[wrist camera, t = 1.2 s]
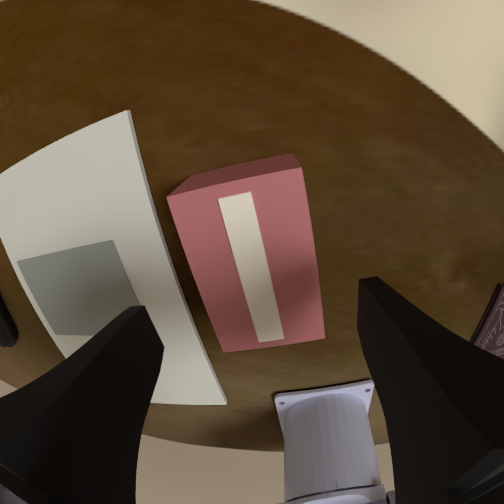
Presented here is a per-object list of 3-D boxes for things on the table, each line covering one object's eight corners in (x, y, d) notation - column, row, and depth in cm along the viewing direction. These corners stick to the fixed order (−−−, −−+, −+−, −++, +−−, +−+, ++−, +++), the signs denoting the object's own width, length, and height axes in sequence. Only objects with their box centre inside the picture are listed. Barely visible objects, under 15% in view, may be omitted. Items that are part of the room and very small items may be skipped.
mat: (227, 400, 22) (226, 405, 21) (95, 393, 24) (94, 396, 23) (130, 110, 12) (125, 110, 12) (-13, 183, 14) (-18, 186, 13)
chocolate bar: (550, 285, 15) (473, 407, 23) (545, 279, 16) (470, 402, 24) (502, 287, 15) (417, 423, 23) (496, 280, 16) (415, 416, 24)
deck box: (314, 290, 17) (325, 339, 13) (231, 304, 17) (223, 353, 14) (292, 152, 13) (301, 167, 10) (191, 174, 14) (165, 197, 10)
